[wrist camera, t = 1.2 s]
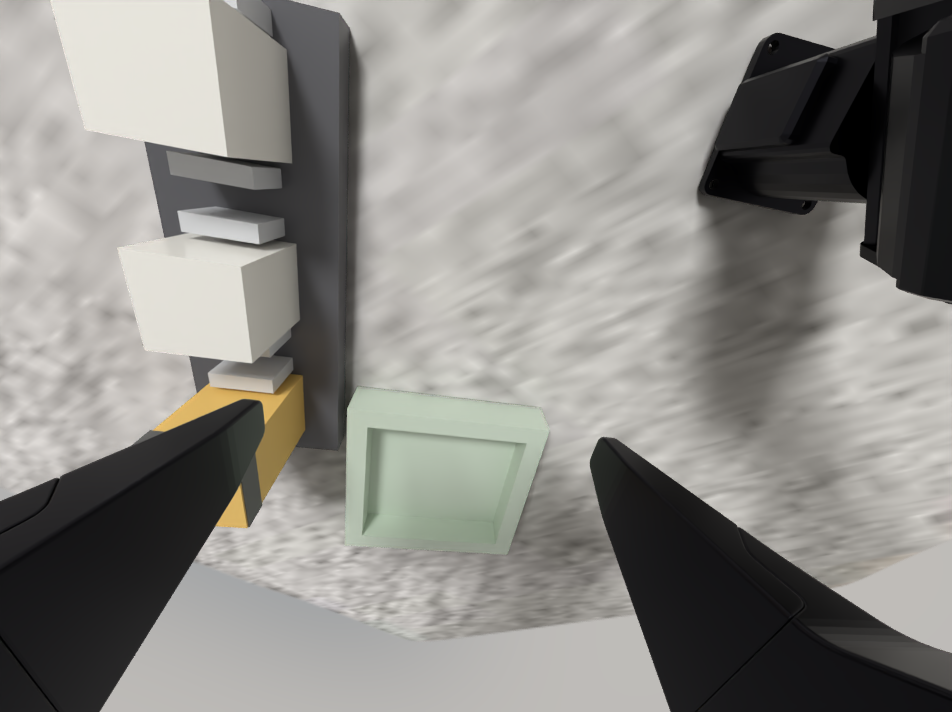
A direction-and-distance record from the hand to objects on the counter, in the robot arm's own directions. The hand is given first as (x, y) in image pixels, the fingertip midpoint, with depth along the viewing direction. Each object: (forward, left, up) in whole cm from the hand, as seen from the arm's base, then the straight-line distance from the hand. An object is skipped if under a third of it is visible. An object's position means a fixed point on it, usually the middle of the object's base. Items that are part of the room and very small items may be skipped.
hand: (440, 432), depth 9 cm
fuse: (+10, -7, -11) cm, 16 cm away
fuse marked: (+10, +8, -11) cm, 16 cm away
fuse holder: (+10, 0, -12) cm, 16 cm away
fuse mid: (+10, 0, -11) cm, 14 cm away
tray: (-1, +13, -12) cm, 18 cm away
